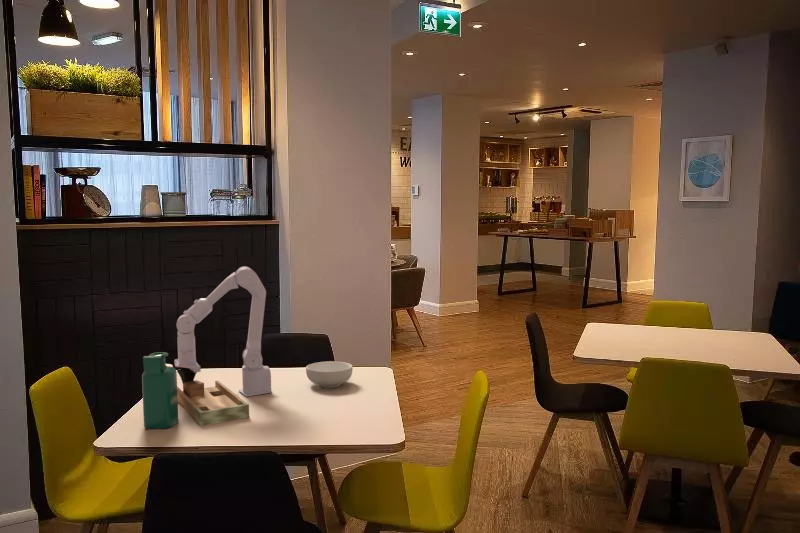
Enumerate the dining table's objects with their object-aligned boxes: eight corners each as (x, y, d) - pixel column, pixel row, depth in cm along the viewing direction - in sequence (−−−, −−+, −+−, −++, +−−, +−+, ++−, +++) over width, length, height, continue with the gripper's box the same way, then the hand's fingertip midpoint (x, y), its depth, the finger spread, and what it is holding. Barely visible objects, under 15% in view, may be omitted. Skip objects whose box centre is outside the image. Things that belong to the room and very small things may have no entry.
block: (183, 394, 224) (182, 383, 223) (196, 391, 227) (196, 380, 227) (190, 397, 220) (190, 385, 220) (204, 394, 224) (204, 382, 223)
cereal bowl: (361, 382, 245) (361, 364, 244) (333, 394, 231) (333, 374, 230) (325, 376, 254) (325, 358, 253) (296, 386, 240) (296, 367, 239)
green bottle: (153, 419, 204) (150, 349, 202) (180, 419, 204) (177, 349, 202) (139, 430, 194) (136, 357, 192) (168, 430, 194) (165, 357, 192)
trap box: (218, 391, 234) (218, 380, 234) (249, 417, 206) (248, 404, 206) (174, 398, 226) (174, 386, 226) (200, 425, 198) (200, 412, 198)
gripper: (165, 348, 227) (167, 387, 229) (186, 355, 217) (187, 396, 219) (184, 345, 232) (186, 383, 234) (205, 352, 222) (207, 391, 224)
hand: (188, 389), depth 226 cm, fingers closed
